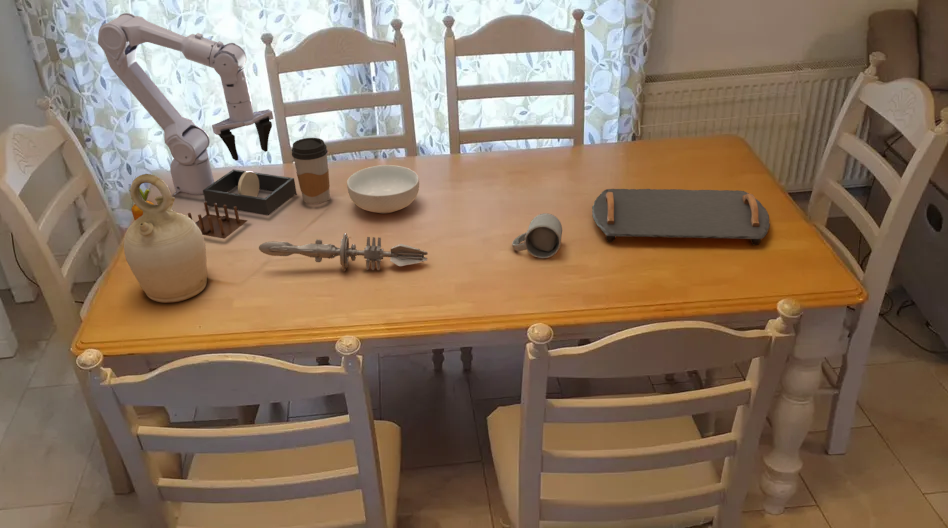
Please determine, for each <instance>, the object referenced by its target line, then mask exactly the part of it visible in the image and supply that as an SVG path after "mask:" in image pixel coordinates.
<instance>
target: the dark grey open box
mask: <svg viewBox="0 0 948 528" xmlns="http://www.w3.org/2000/svg"><path fill="white" fill-rule="evenodd" d="M246 171H247V170H240V169H235V168H234V169H232V170H229V172H227V173H226V174H224V175H223V176H221V177H220V178H218V179H217V180H216V181H214V183H213V184H211V185H210V186H208V187H207V188H205V189H204V190H203V193H204V194H203V197H204V202H205V201H206V202H207V205H208V207H214V203H217V206H218V208H221V209H224V207H223V205H226V206H227V210H233V211H234V206H236V207H237V211H238V212H245V213H250V214H251V213H252V214H257V215H258V214H259V215H263V216H270V215H271V214H272V213H273V212H275V211H276V210H277V209H278V208H281V206H282V205H284V204H285V203H286V202H287V201H289V200H290V199H291V198H292V197H294V196H297V195H298V193H297V189H296V187H297V186H296V181H295V178H294V177H289V176H282V175H275V174H268V173H261V172H255V171H253V172H254V173H255V174H256V175H257V176H258V179H259V191H268V192H271V193H269V194H267V196H266V197H260V196H257V197H253V196H247V195H241V194H238V193H235V192H230V191H231V190H233V189H234V188H236V187H238V183H239V179H240V177H241V175H242V174H243V173H244V172H246Z"/></svg>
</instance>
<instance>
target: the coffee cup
mask: <svg viewBox="0 0 948 528" xmlns="http://www.w3.org/2000/svg"><path fill="white" fill-rule="evenodd" d="M327 147H328V146H327V144H326V143H325V141H324V139H322V138H319V137H305V138H301V139H297V140H296V141H294V142H293V143H292V148H291V156H292V158H293V162H294V166H295V172H296V176H297V180H298V185H299V189H300V192H301V196H302V200H303V201H304V203H306V204H309V205H310V204H311V205H318V204H323V203H325V202H327V201H330V200H331V190H330V170H329V163H328V161H329V160H328V152H329V151H328V149H327Z"/></svg>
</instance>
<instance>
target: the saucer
mask: <svg viewBox="0 0 948 528" xmlns="http://www.w3.org/2000/svg"><path fill="white" fill-rule="evenodd" d="M245 171H246V172H244V173H243V174H242V175H241V177H240V179H239V183H238V186H237V194H241V195H247V196H253V197H259V196H258V195H259V193H260V189H259V179H258V176H257V175H256V174H255V173H256V172H255V171H252V170H245ZM254 172H255V173H254Z"/></svg>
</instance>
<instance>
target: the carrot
mask: <svg viewBox="0 0 948 528" xmlns="http://www.w3.org/2000/svg"><path fill="white" fill-rule="evenodd" d="M128 191H129V192H130V189H128ZM140 194H141V196H142V198H143V199H144V200H145V201H146V202H148V203H150V204H152V205H155V204H154V203H153V202H152V201H151V200H148V196H149V194H150V189H148V188H147V189H145V191H144V192H143V190H142V189H141V188H140ZM130 199H131V200H132V198H131V197H130ZM130 208H131V213H132V217H133V220H134V221H135V220H137V219H138V218H139V217H140V216H142V215H143V211H142V210H141V209H140V208H138V207H137V206H136V205H135V203H134V204H133V205H132V207H130Z"/></svg>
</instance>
